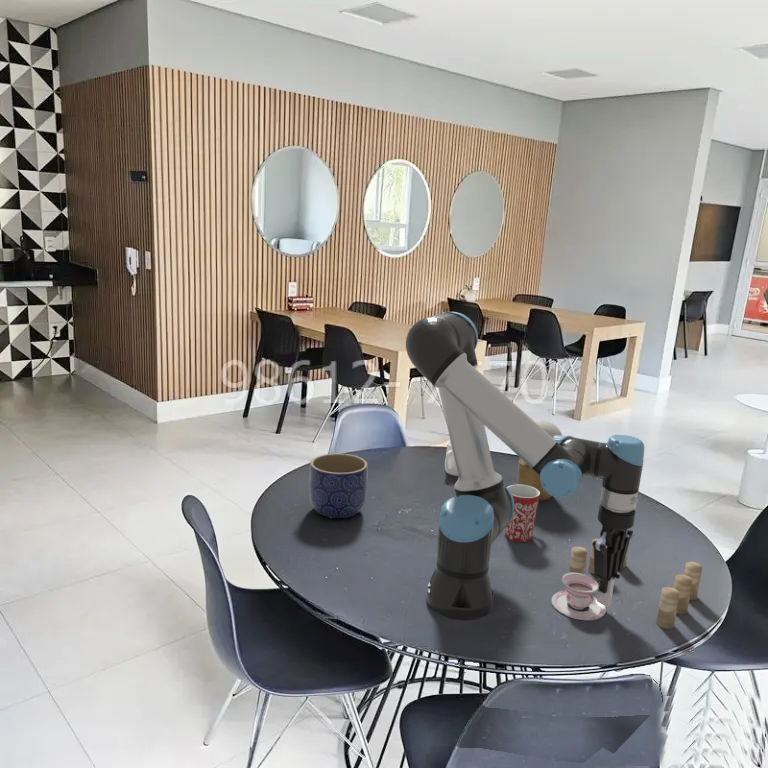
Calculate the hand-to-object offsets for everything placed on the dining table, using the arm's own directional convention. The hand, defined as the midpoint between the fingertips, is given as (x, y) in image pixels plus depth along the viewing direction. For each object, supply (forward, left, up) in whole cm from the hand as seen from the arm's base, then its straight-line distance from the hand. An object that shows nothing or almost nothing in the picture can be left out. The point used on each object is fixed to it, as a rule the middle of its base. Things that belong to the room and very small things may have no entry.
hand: (603, 603), depth 156 cm
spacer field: (+14, 0, -2) cm, 14 cm away
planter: (-18, +76, -2) cm, 78 cm away
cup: (+33, +78, -2) cm, 85 cm away
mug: (+15, +35, -2) cm, 38 cm away
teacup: (-3, +4, -2) cm, 6 cm away
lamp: (+40, +50, -2) cm, 64 cm away
